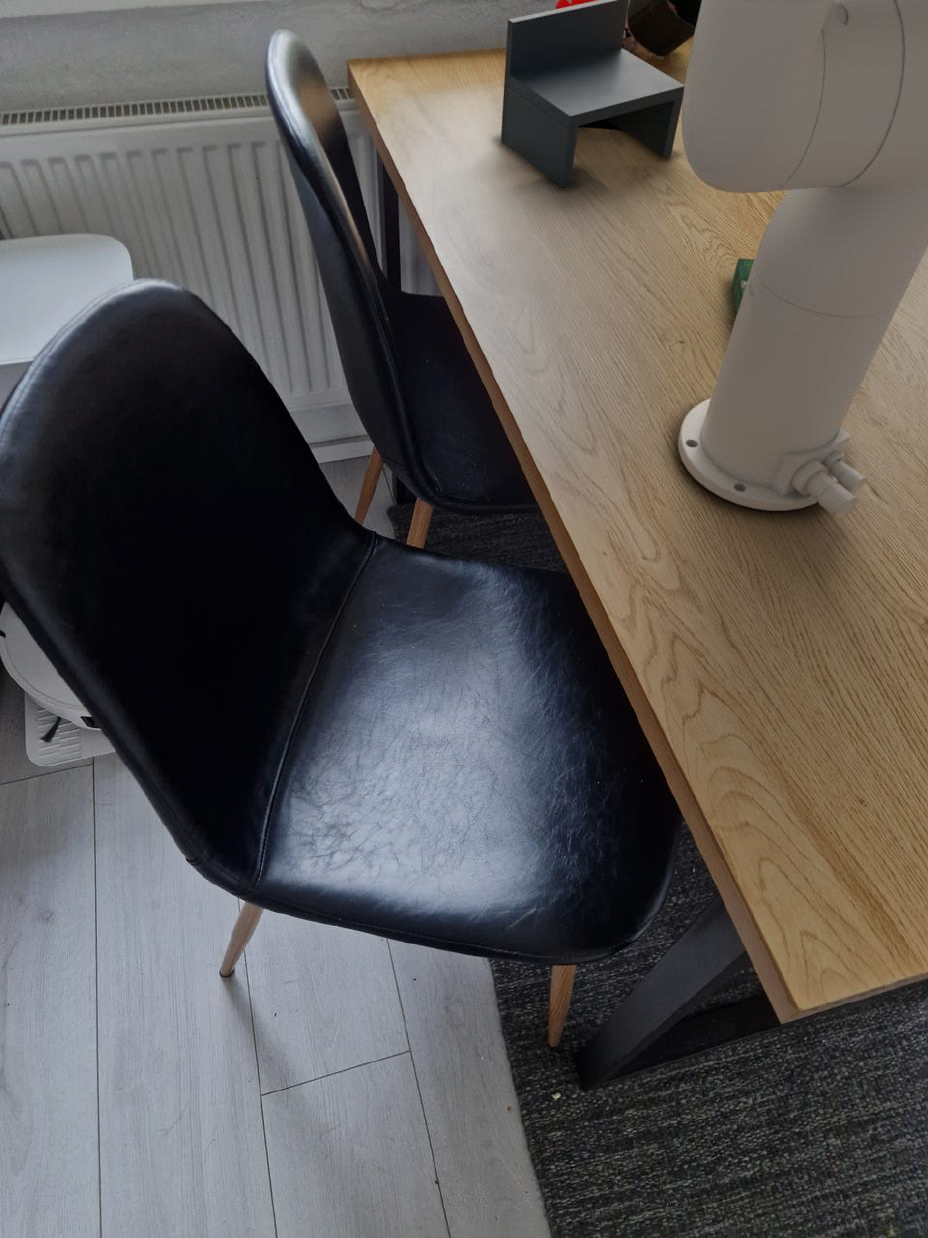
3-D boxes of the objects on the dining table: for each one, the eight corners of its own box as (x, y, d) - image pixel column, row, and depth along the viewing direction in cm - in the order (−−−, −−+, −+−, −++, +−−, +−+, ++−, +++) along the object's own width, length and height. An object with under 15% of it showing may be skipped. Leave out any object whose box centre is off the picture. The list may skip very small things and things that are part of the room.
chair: (671, 155, 98) (696, 33, 89) (561, 187, 94) (576, 63, 84) (606, 112, 104) (623, -6, 95) (500, 140, 100) (507, 19, 90)
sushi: (720, -23, 109) (676, 13, 116) (669, -60, 105) (627, -20, 112) (709, 39, 108) (666, 72, 115) (657, 5, 104) (615, 41, 111)
